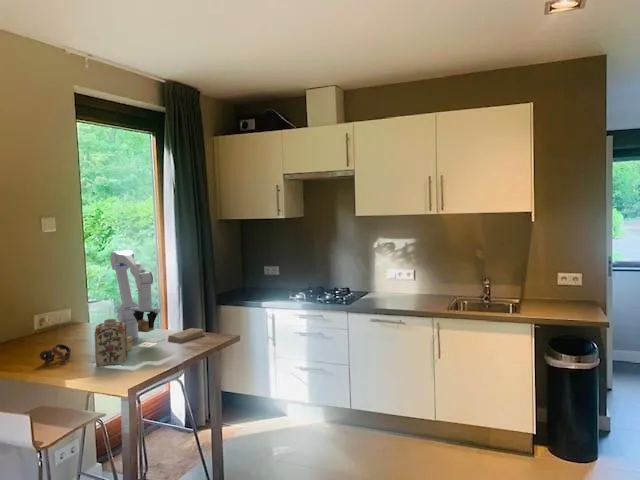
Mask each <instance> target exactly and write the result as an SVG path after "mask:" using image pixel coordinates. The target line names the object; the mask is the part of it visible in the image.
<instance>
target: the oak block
mask: <svg viewBox="0 0 640 480" xmlns="http://www.w3.org/2000/svg"><path fill="white" fill-rule="evenodd" d="M132 347H134V346H133V339H132V336H127V350H128V349H130V348H132ZM130 350H131V349H130ZM128 351H129V350H128Z"/></svg>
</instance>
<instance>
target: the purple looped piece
mask: <svg viewBox="0 0 640 480" xmlns="http://www.w3.org/2000/svg"><path fill="white" fill-rule="evenodd" d="M58 348H59V350H58ZM61 350H66V352H65V353H64V352H63V351H61ZM71 353H72V350H71V348H70V347H69V346H67V345H66V344H62V343H61V344H58V343H57V344H54V345H53V346H52V347H50V348H49V349H48V350H43V351H41V352H40V354H39V358H40V359H41V360H42V361H44V363H45V364H47V363H49V360H55V357H56V356H58V357H59V358H61V360H60V361H59V362H60V363H61V364H65V362H66V361H67V360H68V359H69V358H70V357H71Z"/></svg>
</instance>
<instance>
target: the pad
mask: <svg viewBox="0 0 640 480" xmlns="http://www.w3.org/2000/svg"><path fill="white" fill-rule="evenodd" d="M162 341H165V338H164V337H163V338H160V337H151V338H149V339H146V340H145V341H143V343H144V342H149V343H157V344H158V343H159V342H162Z"/></svg>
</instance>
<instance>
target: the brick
mask: <svg viewBox="0 0 640 480" xmlns="http://www.w3.org/2000/svg"><path fill="white" fill-rule="evenodd" d="M204 333H205V332H204V329H203V328H195V327H191V328H188V329H185V330H183V331H178V332H175V333H173V334H169V335H168V336H167V341H168V342H172V343H175V344H176V343H177V344H181V343H184V342H187V341H190V340H193V339H196V338H199V337H203V336H204V335H205V334H204Z"/></svg>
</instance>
